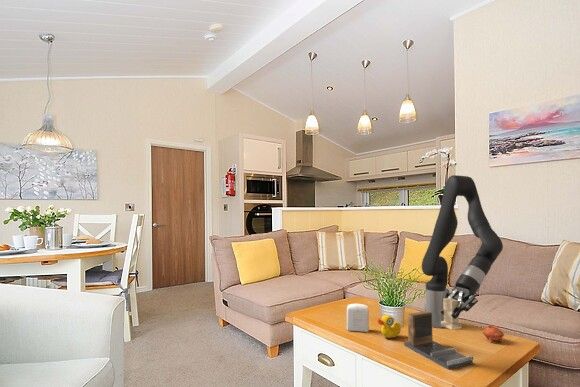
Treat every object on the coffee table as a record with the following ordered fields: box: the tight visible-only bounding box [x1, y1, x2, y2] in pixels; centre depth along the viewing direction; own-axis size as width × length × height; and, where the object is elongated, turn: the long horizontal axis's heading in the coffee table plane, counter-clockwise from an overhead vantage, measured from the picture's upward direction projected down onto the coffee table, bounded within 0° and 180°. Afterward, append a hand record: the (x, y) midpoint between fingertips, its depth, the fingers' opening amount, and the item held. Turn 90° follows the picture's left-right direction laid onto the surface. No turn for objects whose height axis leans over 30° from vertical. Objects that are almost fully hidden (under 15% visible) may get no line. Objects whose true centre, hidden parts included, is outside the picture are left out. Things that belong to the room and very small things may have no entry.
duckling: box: [377, 314, 401, 339], centre depth 152 cm, size 11×5×10 cm, turn 109°
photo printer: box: [346, 303, 370, 333], centre depth 162 cm, size 10×4×12 cm, turn 81°
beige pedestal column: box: [441, 298, 463, 330], centre depth 129 cm, size 5×5×10 cm
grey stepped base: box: [403, 340, 474, 370], centre depth 135 cm, size 23×12×3 cm, turn 22°
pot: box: [482, 325, 505, 344], centre depth 148 cm, size 8×8×7 cm
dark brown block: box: [407, 310, 434, 345], centre depth 143 cm, size 4×10×12 cm, turn 112°
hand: (447, 315), depth 128 cm, fingers closed on beige pedestal column, 4 cm apart
